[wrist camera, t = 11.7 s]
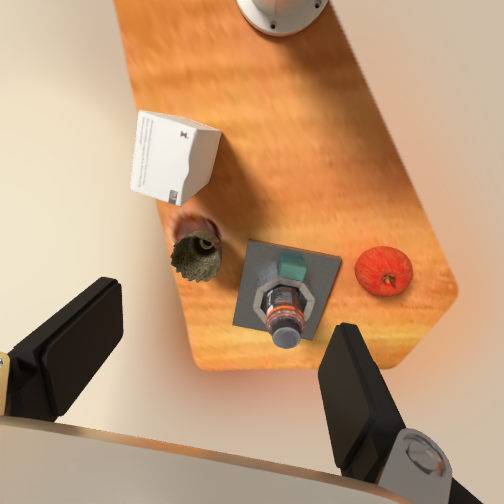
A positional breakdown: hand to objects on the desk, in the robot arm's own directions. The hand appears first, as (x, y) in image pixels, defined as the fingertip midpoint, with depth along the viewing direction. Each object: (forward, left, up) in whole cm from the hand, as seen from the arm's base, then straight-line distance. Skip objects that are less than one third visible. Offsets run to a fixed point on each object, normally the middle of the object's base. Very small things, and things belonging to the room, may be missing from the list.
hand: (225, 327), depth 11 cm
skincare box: (-4, -10, -32) cm, 34 cm away
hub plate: (+17, +8, -32) cm, 37 cm away
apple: (+8, +22, -32) cm, 40 cm away
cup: (+10, -7, -32) cm, 34 cm away
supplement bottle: (+17, +8, -31) cm, 36 cm away
